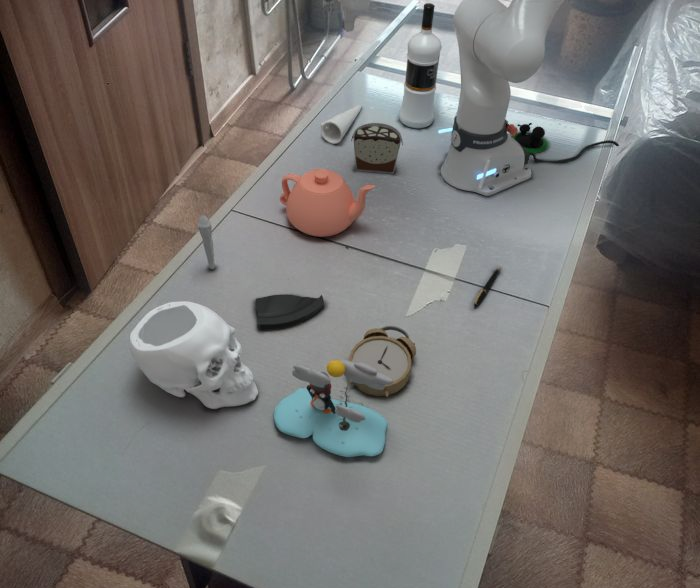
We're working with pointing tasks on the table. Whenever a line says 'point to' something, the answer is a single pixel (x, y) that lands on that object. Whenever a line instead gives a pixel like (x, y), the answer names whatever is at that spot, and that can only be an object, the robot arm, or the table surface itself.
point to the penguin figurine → (334, 411)
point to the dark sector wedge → (286, 310)
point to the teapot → (321, 202)
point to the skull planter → (192, 354)
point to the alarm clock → (385, 358)
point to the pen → (207, 239)
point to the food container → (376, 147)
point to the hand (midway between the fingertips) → (338, 19)
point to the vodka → (421, 74)
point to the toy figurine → (531, 138)
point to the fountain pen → (486, 288)
